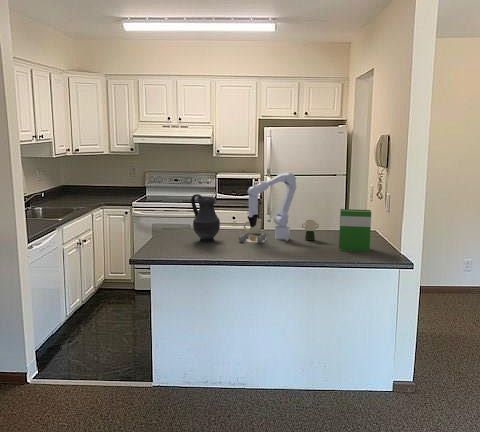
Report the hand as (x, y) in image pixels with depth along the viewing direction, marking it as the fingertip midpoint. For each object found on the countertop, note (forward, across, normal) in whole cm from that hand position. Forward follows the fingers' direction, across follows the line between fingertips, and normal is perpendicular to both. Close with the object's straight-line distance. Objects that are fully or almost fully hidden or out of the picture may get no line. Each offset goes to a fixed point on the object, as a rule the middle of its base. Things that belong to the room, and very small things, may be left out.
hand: (253, 226), depth 321 cm
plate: (+10, +1, 0) cm, 10 cm away
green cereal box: (+10, +4, +64) cm, 65 cm away
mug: (+10, -23, -6) cm, 26 cm away
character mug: (+10, -14, +35) cm, 39 cm away
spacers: (+10, +1, 0) cm, 10 cm away
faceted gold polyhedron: (+9, 0, 0) cm, 9 cm away
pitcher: (+10, +6, -31) cm, 33 cm away
